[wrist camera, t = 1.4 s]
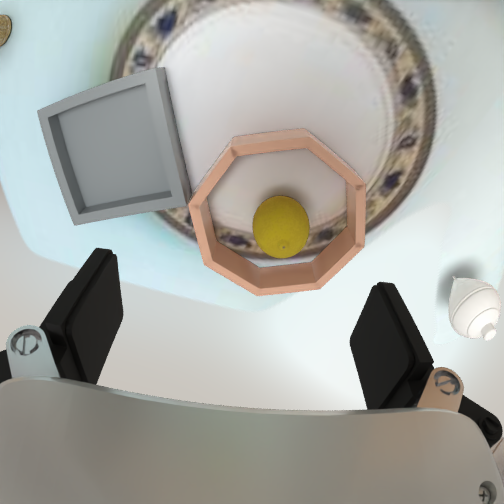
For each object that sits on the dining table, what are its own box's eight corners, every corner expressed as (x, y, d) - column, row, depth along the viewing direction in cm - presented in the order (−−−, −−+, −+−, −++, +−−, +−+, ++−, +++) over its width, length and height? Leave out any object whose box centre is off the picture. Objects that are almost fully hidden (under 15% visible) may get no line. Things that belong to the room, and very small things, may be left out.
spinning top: (451, 302, 42) (483, 361, 32) (420, 287, 41) (454, 351, 31) (482, 265, 39) (523, 320, 29) (454, 245, 37) (498, 304, 27)
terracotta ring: (352, 124, 30) (364, 133, 26) (354, 263, 39) (362, 283, 35) (185, 145, 31) (176, 155, 28) (217, 279, 40) (214, 300, 37)
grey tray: (164, 67, 27) (155, 67, 24) (192, 194, 34) (186, 205, 32) (51, 105, 28) (36, 110, 26) (85, 213, 36) (74, 225, 33)
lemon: (288, 238, 37) (294, 281, 30) (244, 218, 36) (241, 258, 29) (313, 198, 34) (326, 235, 28) (268, 175, 33) (270, 208, 26)
